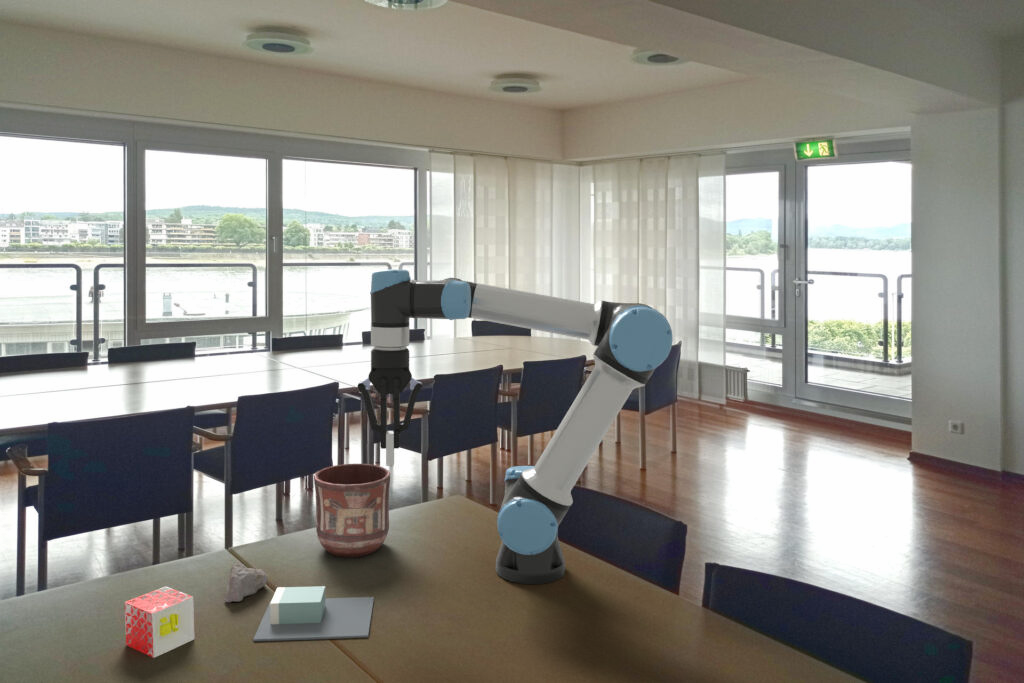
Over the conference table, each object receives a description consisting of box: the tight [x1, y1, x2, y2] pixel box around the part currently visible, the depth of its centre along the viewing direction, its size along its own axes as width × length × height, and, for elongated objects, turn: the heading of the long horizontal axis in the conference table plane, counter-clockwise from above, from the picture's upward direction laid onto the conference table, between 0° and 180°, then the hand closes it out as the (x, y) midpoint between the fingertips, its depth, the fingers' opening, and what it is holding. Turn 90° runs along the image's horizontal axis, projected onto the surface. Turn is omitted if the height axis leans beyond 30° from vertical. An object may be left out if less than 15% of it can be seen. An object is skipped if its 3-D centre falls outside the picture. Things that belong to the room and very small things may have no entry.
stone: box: [223, 562, 269, 603], centre depth 159 cm, size 10×8×6 cm
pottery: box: [313, 463, 391, 558], centre depth 183 cm, size 18×18×18 cm
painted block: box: [269, 585, 326, 624], centre depth 149 cm, size 4×7×9 cm
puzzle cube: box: [124, 586, 195, 659], centre depth 138 cm, size 8×8×8 cm
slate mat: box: [252, 596, 375, 642], centre depth 148 cm, size 20×16×1 cm
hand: (390, 464), depth 159 cm, fingers closed
